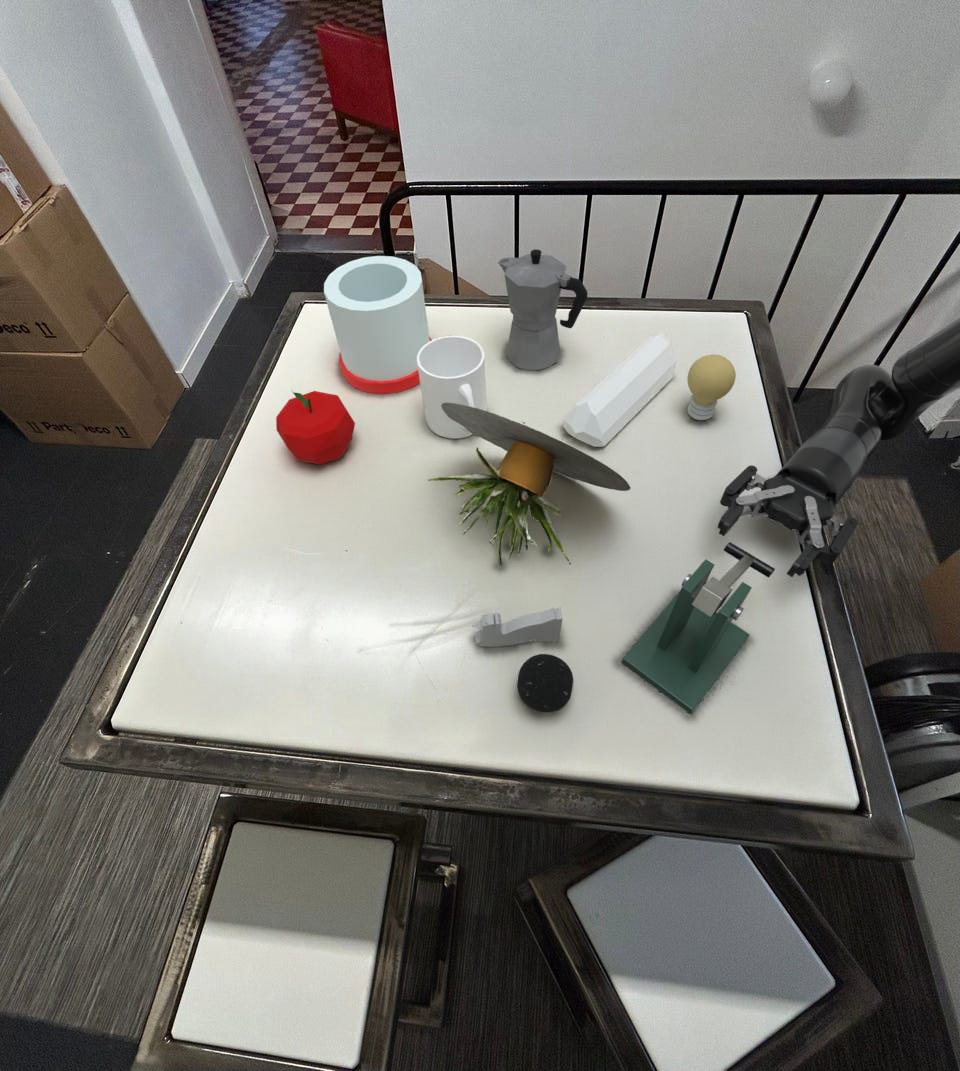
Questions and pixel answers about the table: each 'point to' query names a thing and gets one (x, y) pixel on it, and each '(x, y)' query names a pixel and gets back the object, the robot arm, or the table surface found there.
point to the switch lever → (728, 580)
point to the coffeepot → (537, 308)
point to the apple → (315, 427)
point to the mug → (451, 381)
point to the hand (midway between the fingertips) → (756, 550)
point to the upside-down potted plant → (522, 474)
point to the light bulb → (709, 384)
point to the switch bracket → (689, 643)
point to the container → (378, 322)
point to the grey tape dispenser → (519, 629)
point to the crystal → (622, 393)
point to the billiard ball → (545, 683)
